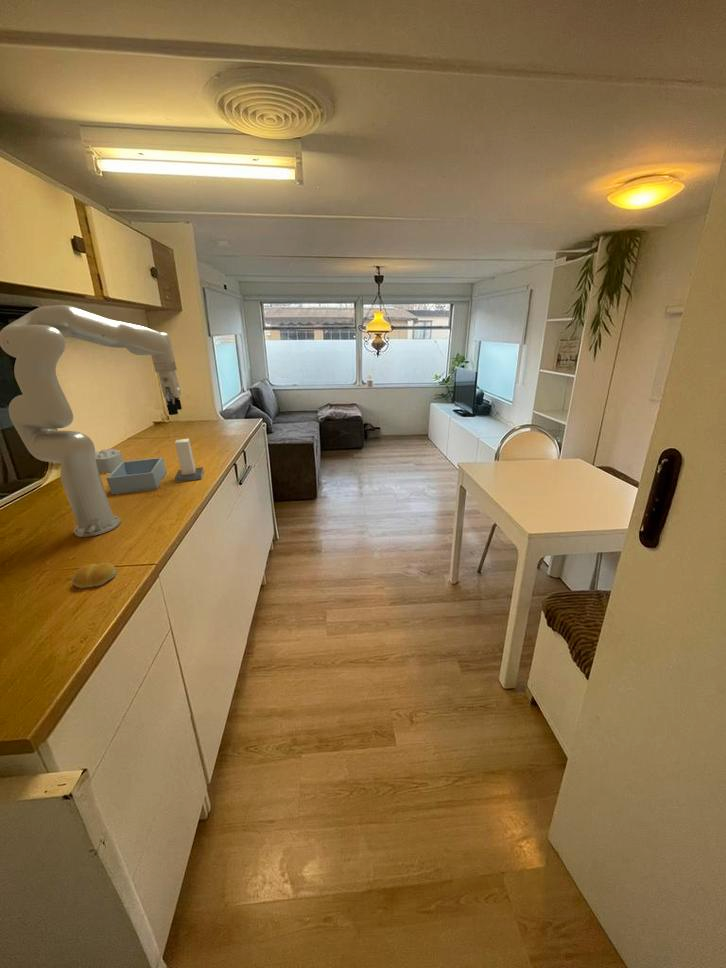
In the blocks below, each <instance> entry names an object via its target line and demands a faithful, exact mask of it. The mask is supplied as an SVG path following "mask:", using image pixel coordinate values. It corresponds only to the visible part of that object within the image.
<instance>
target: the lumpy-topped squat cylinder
mask: <svg viewBox="0 0 726 968" xmlns="http://www.w3.org/2000/svg"><path fill="white" fill-rule="evenodd" d="M95 456H96V463H97V468H98V471H99V473H104V474H103V475H106V474H105V473H110V474H111V473H112V472H113V471H114V470H115V469H116V468H117V466H118V465H119V464H120V463H121V462H124V459H123V455H122V452H121V450H119V449H114V448H110V449H101V450H100V451H99V452H98V451H97V452H96V451H95Z"/></svg>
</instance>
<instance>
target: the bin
mask: <svg viewBox="0 0 726 968" xmlns="http://www.w3.org/2000/svg"><path fill="white" fill-rule="evenodd" d="M165 473H166V474H167V468H166V464H165V461H164V457H154V458H146V459H144V458H143V459H137V460H127V461H126V460H125V461H123V462H121V463H120V464H119V465H118V466H117V468H116V469H115V470H114V471H113V472H112V473H110V474H108V476H107V477H106V481H107V485H108V487H109V490H110V494H111V496H113V495H114V494H116V495H123V494H122V493H124V494H130V492H132V493H138V492H139V491H140V492H147V491H146V490H148V491H153V490H152V489H156V490H158V489H159V487H160V485H161V483H162V481H163V480H164V478H163V477H165V476H166V474H165ZM164 475H165V476H164ZM162 479H163V480H162ZM161 480H162V481H161ZM160 482H161V483H160ZM159 484H160V485H159ZM158 486H159V487H158ZM157 488H158V489H157ZM114 496H115V495H114Z"/></svg>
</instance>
